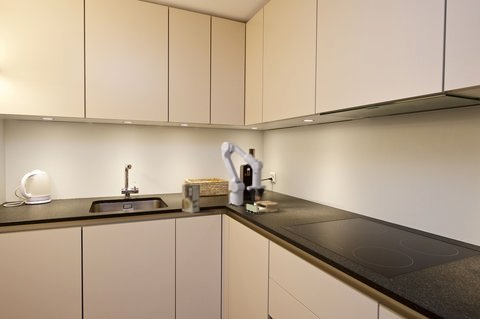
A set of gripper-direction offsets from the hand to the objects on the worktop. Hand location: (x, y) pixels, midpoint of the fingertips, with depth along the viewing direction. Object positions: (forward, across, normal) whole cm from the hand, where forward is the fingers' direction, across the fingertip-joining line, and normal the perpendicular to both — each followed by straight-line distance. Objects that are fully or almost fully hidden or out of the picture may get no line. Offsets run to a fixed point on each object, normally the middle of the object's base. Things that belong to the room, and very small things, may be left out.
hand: (256, 200), depth 182 cm
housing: (+5, 0, -10) cm, 11 cm away
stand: (+5, 0, 0) cm, 5 cm away
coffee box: (+6, -41, +13) cm, 43 cm away
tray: (+5, -8, -10) cm, 14 cm away
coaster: (-1, 0, 0) cm, 1 cm away
